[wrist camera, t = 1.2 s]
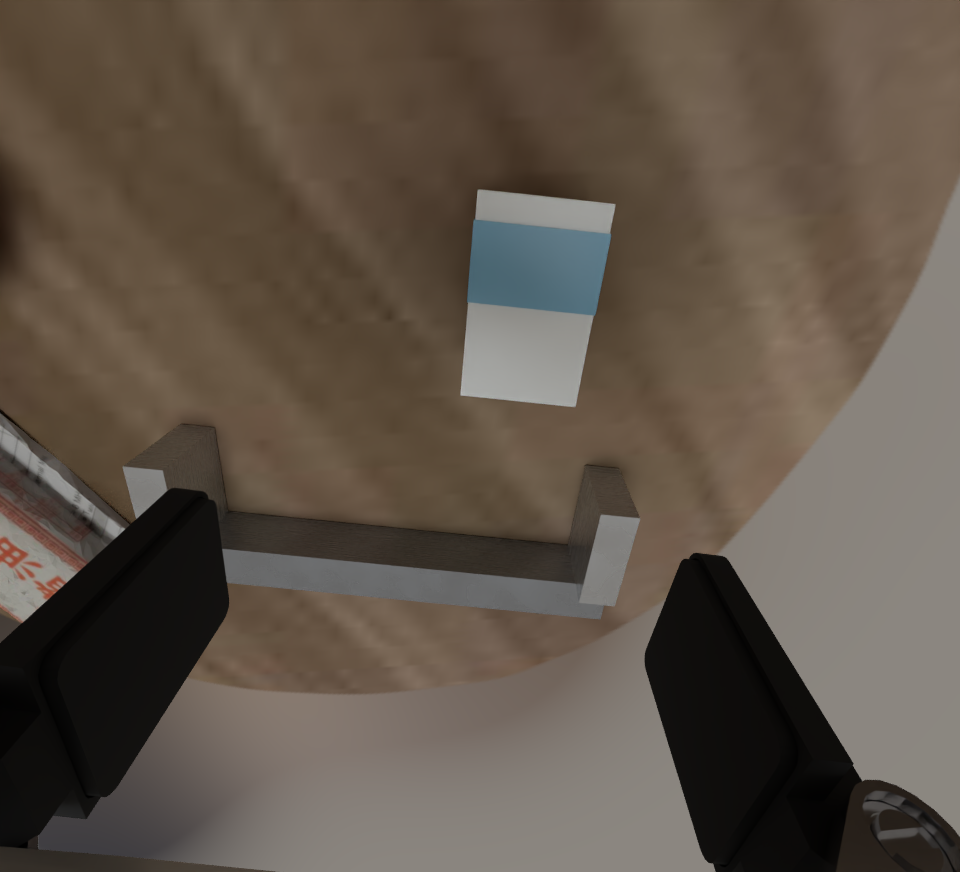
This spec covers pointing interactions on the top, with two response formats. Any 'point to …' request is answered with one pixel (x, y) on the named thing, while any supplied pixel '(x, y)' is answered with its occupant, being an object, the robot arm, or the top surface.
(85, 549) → the packaged product
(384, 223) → the top surface
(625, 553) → the rail
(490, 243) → the block
